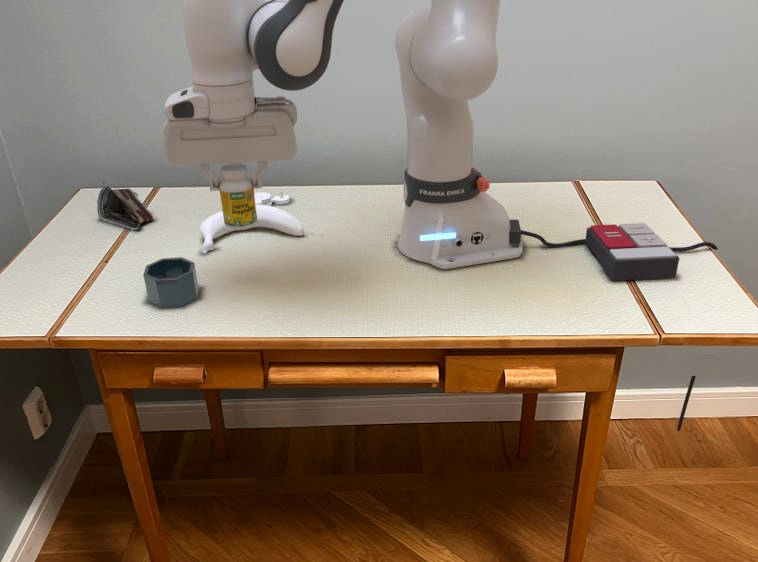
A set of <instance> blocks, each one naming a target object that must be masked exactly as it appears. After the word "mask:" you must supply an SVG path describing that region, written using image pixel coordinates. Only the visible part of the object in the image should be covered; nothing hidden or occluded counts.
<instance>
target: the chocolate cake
mask: <svg viewBox="0 0 758 562" xmlns="http://www.w3.org/2000/svg"><path fill="white" fill-rule="evenodd" d="M138 197H139V193H138V192H136V191H135V192H134V191H133V190H132V189H131V188H116V189H112V188H111V186H109V185H108V184H107V183H106V182H104V181H102V184H101V190H100V191H99V193H98V198H97V201H96V204H97V207H96V208H97V209H96V211H97V216H98V218H99V220H101V221H103V222H104V223H106V222H107V223H108V224H113V225H115V226H119V227H122V228H125V229H128V230H131V231H136V230H138V229H139V227H140V226H141V224H142V223H146V222H151V221H154V216H153V214H152V213H151V211H150V210H149V209H148V207H149V205H148V204H147V203H145V202H141V200H140V199H139V198H138Z"/></svg>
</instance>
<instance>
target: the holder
mask: <svg viewBox="0 0 758 562" xmlns="http://www.w3.org/2000/svg"><path fill="white" fill-rule="evenodd" d="M196 269H197V268H196V264H195V262H194V261H192V260H189V259H187V258H185V257H182V256H180V257H179V256H178V257H166V258H165V257H164V258H161V259H158V260H156V261H153V262H151V263H149V264H147V265H146V266H145V269H144V271H143V280H144V284H145V290H146V293H147V299H148V302H149V303H150V304H152V305H154V306H156V307H159V308H160V309H166V308H167V309H169V308H181V307H184V306H185V305H188V304H190V303H193V301H196V300H198V296H199V291H200V287H199V281H198V275H197V270H196Z"/></svg>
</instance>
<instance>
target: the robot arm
mask: <svg viewBox="0 0 758 562" xmlns="http://www.w3.org/2000/svg"><path fill="white" fill-rule="evenodd" d="M344 1H345V0H183V1H182V2H183V3H182V13H183V14H182V15H183V27H184V35H185V36H184V37H185V43H186V50H187V52H188V55H189V57H190V60H191V66H192V70H191V84H192V86H189V87H187V88H183V89H181V90H178V91H176V92H173V93H171V94H170V95H169V96H168V97H167V99H166V100H165V103H164V108H163V109H164V115H165V117H166V119H165V121H164V124H163V127H162V152H163V159H164V161H165V162H166V163H167V164H168V165H170V166H171V167H177V166H178V167H180V166H181V167H182V166H198V167H199V172H200V174H202V176H203V178H205V179H206V181H208V185H209V191H210V192H215V191H220V189H219V184H220V176H214V174H213V173H212V172H211V171H210V167H211V165H215V164H216V165H217V164H218V165H219V164H230V163H254V162H255V163H256V162H257V168H258V171H257V174H251V180H252V183H253V189H254V190H256V189H263V176H264V175H265V173H266V170H267V169H268V162H273V161H274V162H275V161H291V160H294V159H295V158H296V156H297V154H298V143H297V137H296V130H295V127H294V126H295V125H296V124H297V121H298V112H297V106H296V104H295V103H294V102H293V100H291V99H288V98H286V96H276V97H268V96H265V97H264V96H263V97H256V94H255V93H256V92H255V83H254V71H256V70H259V71H260V73H261V75H262V76H263V78H264V79H265V80H266V81H267V82H268V83H270V84H271V85H272V86H274V87H276V88H277V89H280V90H283V91H289V92H290V91H291V92H294V91H295V92H296V91H302V90H305V89H307V88H309V87H311V86H313V85H314V84H316V83H317V82H318V81H319V80H320V79H321V78H322V77H323V75H324V74H325V72H326V71H327V69H328V66H329V64H330V63H329V62H330V59H331V55H332V46H333V45H332V43H333V34H334V27H335V24H336V20H337V17H338V15H339V13H340V10H341V8H342V6H343V4H344ZM500 5H501V0H431V5H430V6H431V7H423V8H419V9H415V10H412V11H410V12H409V13H408V14H406V15H405V16H404V17H403V18H402V19H401V21H400V22H399V24H398V26H397V28H396V31H395V35H394V47H395V51H396V55H397V59H398V65H399V66H398V67H399V74H400V75H399V76H400V82H401V91H402V98H403V105H404V106H403V107H404V111H405V120H406V169H405V170H404V175H403V176H404V178H403V201H404V204H405V206H404V212H403V213H404V215H403V220H402V224H401V231H400V234H399V237H398V240H397V245H396V246H397V249H398V250H399V252H400V253H401V254H402V255H404V256H406V257H407V258H409V259H412V260H414V261H418V262H422V263H426V264H430V265H432V266H434V267H436V268H438V269H441V270H451V269H457V268H462V267H463V268H464V267H468V266H469V267H470V266H475V265H480V264H487V263H492V262H493V263H494V262H499V261H505V260H511V259H516V258H520V257H521V255H522V253H523V240H522V235H523V236H528V237H530V238H534V239H537V240H539V241H540V242H541V243H542V244H543V246H545V247H548V248H552V249H553V248H555V249H556V248H565V247H571V246H574V245H579V244H580V245H582V244H586V238H581V239H575V240H571V241H567V242H561V243H552V242H550V241H549V242H548V241H547V240H546V239H545V238H544V237H543V236H541V234H537V233H535V232H532V231H526V230H522V228H521V225H520V221H519V219H510V217H509V214H508V212H507V210H506V208H505V207H504V206H503V205H502V204H501V203H500V201H498V200H496V199H495V198H494V197H492V196H491V195H490V194H488V193H486V192H488V190H489V189H490V186H491V185H490V182H489V180H488V179H487V178H486V177H484V176H483V175H482V173H481V172H480V171H478V170H477V169H476V167H474V166H473V165H472V164H473V149H474V148H473V147H474V132H475V131H474V130H475V128H474V120H473V118H472V115H471V112H470V106H469V101H470V100H473V99H476V98H478V97H480V96H481V95H483V94H484V93H485V92H487V90H489V88H490V87H491V85H492V84H493V82H494V81H495V78H496V76H497V73H498V68H499V56H498V51H497V45H496V44H497V40H496V39H497V29H498V21H499V13H500ZM668 247H669V246H668ZM703 247H709V248H711V249H712V250H715V251H718V250H719V247H718V246H717V245H716V244H715V243H713V242H710V241H702V242H698V243H695V244H692V245H689V246H681V247H679V246H678V247H677V246H675V247H673V246H671V247H669V248H670V249H671V250H672V251H673V252H674V253H676V252H678V253H679V252H688V251H694V250H697V249H699V248H703ZM696 378H697V375H691V378H690V381H689V384H688V388H687V390H686V394H685V397H684V401H683V404H682V408H681V411H680V415H679V419H678V423H677V426H676V431H678V432H679V431H681V430H682V426H683V421H684V418H685V414H686V410H687V407H688V403H689V400H690V397H691V393H692V391H693V388H694V383H695V380H696Z"/></svg>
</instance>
